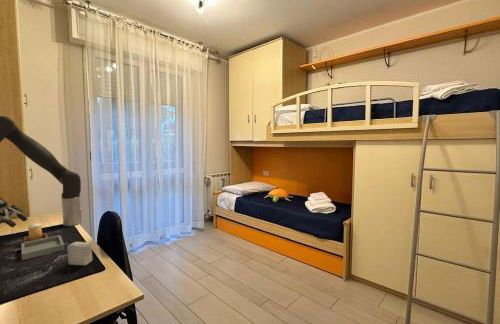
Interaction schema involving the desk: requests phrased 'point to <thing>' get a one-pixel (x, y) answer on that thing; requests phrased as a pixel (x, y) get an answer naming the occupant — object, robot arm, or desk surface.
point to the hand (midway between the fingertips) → (20, 222)
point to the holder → (38, 239)
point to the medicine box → (79, 253)
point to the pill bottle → (35, 231)
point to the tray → (42, 247)
